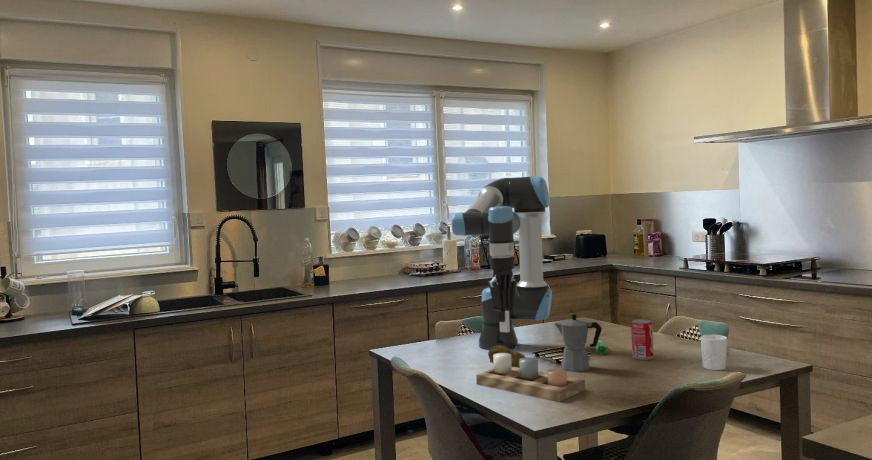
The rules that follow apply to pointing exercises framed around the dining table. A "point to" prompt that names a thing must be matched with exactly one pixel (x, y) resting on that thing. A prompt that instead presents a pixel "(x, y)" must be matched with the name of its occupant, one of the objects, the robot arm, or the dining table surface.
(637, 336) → the soda can
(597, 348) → the candy
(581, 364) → the coffeepot
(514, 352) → the potato
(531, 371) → the slate egg
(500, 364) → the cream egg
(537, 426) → the dining table surface
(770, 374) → the dining table surface
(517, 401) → the dining table surface
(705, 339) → the white cup
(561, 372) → the pink egg
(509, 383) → the wooden egg rack
